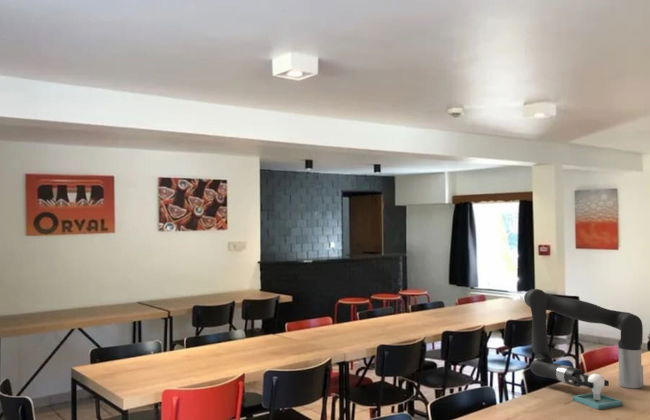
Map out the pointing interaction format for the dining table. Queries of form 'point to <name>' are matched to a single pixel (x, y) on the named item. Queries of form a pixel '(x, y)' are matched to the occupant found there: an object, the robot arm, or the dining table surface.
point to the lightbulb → (596, 385)
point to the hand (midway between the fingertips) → (600, 384)
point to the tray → (601, 404)
